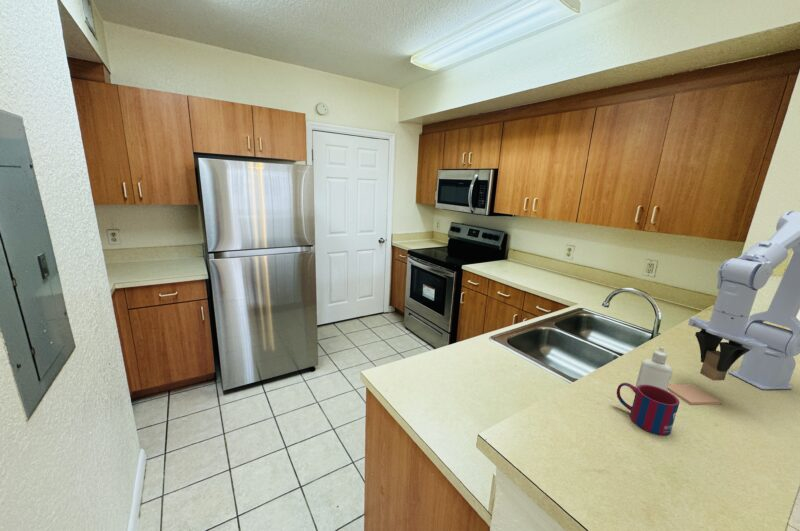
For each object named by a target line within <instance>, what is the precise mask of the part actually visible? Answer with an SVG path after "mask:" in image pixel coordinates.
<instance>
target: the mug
mask: <svg viewBox="0 0 800 531" xmlns="http://www.w3.org/2000/svg"><path fill="white" fill-rule="evenodd" d="M622 387H628V388H630V389H631V390H632V391H633V392H634V399H633V402H632V405H629V404H628V403H627V402H626V401H625V400H624V399H623V398H622V395H621V388H622ZM616 397H617V399H618V401H619V402H620V403H621V404H622V405H623V406H624V407H625V408H626V409H627V410H628V411H630V413H629V414H630V415H629V417H630V420H631V422H632V423H633V424H634V425H636V426H637V427H638V428H641V429H642V430H643V431H646V432H648V433H651V434H653V435H657V436H668V435H670V434H671V432H672V429H673V426H674V422H675V420H676V417H677V416H676V415H677V413H678V409H679V405H680V400H679V397H677V396H676V395H674V394H673V393H671V392H670V391H668V390H667V391H666V390H664V389H661V388H658V387H655V386H651V385H639V386H638V387H637V388H636V386H634V385H633V384H630V383H628V382H621V383H620V384H619V385H618V386H617V389H616Z"/></svg>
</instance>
